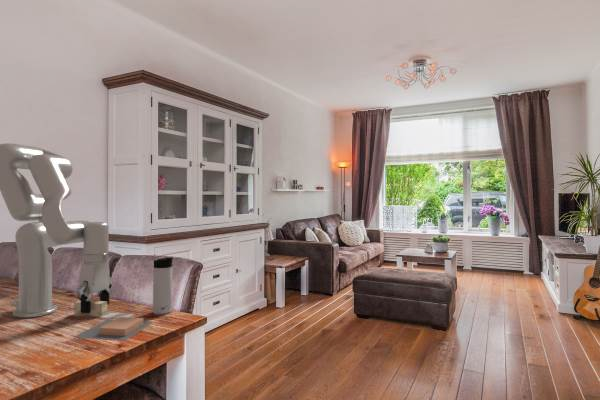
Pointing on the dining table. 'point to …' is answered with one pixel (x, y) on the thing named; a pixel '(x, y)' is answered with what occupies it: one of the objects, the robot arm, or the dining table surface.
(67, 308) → the dining table surface
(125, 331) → the tile
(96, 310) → the beige rectangular bar
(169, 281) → the travel mug
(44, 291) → the robot arm
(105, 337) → the grey square plate
